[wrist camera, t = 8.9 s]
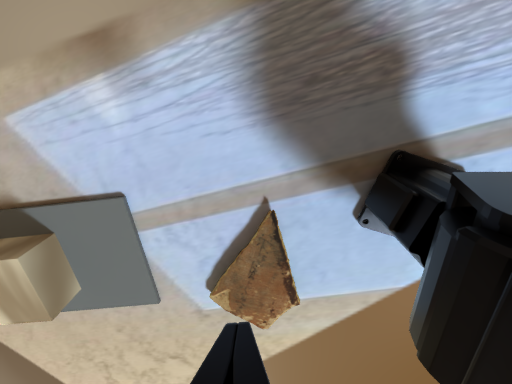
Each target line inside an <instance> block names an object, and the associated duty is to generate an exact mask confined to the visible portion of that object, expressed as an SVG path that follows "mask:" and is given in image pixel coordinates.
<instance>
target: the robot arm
mask: <svg viewBox="0 0 512 384" xmlns="http://www.w3.org/2000/svg"><path fill="white" fill-rule="evenodd" d="M399 155H402V157H401V159H399V160H397V158H398V156H399ZM364 219H367V221H366V222H363V220H364ZM358 223H359V224H360V225H361V226H362V227H364V228H368V229H371V230H374V231H378V232H381V233H384V234H387V235H391V236H394V237H395V238H396V239H397V240H398V241H399V242H400V243H401V244H402V245H403V246H404V247H405V248H406V249H407V250H408V251H409V252H410V253H411V255H412V256H413V257H414V258H415V259H416V260H417V261H418V262H419V263H420V264H421V265H422V266H423V267H424V271H423V275H422V278H421V282H420V285H419V288H418V292H417V295H416V299H415V302H414V306H413V309H412V312H411V316H410V329H409V331H410V333H411V336H412V339H413V341H414V344H415V346H416V349H417V350H418V351H417V357H418V359H419V360H420V362H421V363H422V364H423V366H424V367H425V368H426V369H427V371H428V372H429V373H430V374H431V375H432V376H433V377H434V378H435V379H436V380H437V381H438V382H439V383H440V384H512V172H463V171H460V170H457V169H454V168H451V167H448V166H446V165H443V164H440V163H437V162H434V161H431V160H428V159H425V158H422V157H420V156H417V155H414V154H411V153H408V152H405V151H402V150H397V151H395V152H394V153H393V154H392V156H391V157H390V159H389V161H388V163H387V165H386V167H385V169H384V170H383V172H382V174H380V175H379V176H378V178H377V180H376V182H375V184H374V186H373V188H372V190H371V191H370V193H369V195H368V197H367V199H366V201H365V206H364V208H363V210H362V212H361V213H360V215H359V217H358ZM190 384H270V382H269V379H268V376H267V373H266V370H265V367H264V365H263V361H262V358H261V355H260V352H259V349H258V346H257V343H256V340H255V337H254V334H253V331H252V328H251V325H250V323H249V322H239V323H227V324H226V325H225V327H224V328H223V330H222V332H221V333H220V335H219V337H218V338H217V340H216V342H215V343H214V345H213V347H212V348H211V350H210V352H209V353H208V355H207V357H206V358H205V360H204V362H203V363H202V365H201V366H200V368H199V370H198V371H197V373H196V375H195V376H194V378H193V380H192V381H191V383H190Z"/></svg>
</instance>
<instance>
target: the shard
mask: <svg viewBox="0 0 512 384" xmlns="http://www.w3.org/2000/svg"><path fill="white" fill-rule="evenodd" d="M209 297H210V298H211V299H212V300H213V301H214V302H215V303H217V304H218V305H219V306H221V307H222V308H223V309H224V310H226V311H228V312H230V313H232V314H234V315H235V316H239V317H240V318H242V319H244V320H246V321H248V322H251V323H253V324H254V325H256V326H257V327H259V328H262V329H268V328H269V327H270V326H271V325H272V324H273V323H274V322H275V321H276V320H277V319H278V318H279V316H281V315H282V314H283V313H285V312H286V311H287V310H289V309H290V308H291V307H293V306H297V305H299V304H300V299H299V297H298V295H297V291H296V287H295V282H294V280H293V277H292V274H291V269H290V265H289V259H288V257H287V252H286V249H285V245H284V243H283V239H282V235H281V232H280V229H279V226H278V220H277V217H276V213H275V211H274V210H272V211H271V210H270V211H269V212H268V214H267V216H266V217H265V219H264V221H263V222H262V223H261V225H260V227H259V229H258V230H257V233H256V234H255V235H254V237H253V238H252V240H251V241H250V243H249V244H248V245H247V247H246V248H244V249H243V250H242V251H241V252H240V253H239V255H238V256H237V257H236V259H235V261H234V262H233V263H232V264H231V265H230V266H229V268H228V269H227V271H226V272H225V273H224V274H223V275H222V277H221V278H220V279H219V281H218V283H217V285H216V286H215V288H214V290H213V291H212V292H211V293H210V296H209Z"/></svg>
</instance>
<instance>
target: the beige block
mask: <svg viewBox="0 0 512 384" xmlns="http://www.w3.org/2000/svg"><path fill="white" fill-rule="evenodd" d="M80 290H81V287H80V285H79V283H78V281H77V279H76V277H75V274H74V272H73V270H72V268H71V266H70V264H69V262H68V260H67V258H66V256H65V254H64V252H63V250H62V247H61V245H60V243H59V241H58V239H57V237H56V235H55V233H52V234H42V235H33V236H23V237H14V238H4V239H0V325H6V324H18V323H30V322H42V321H52V320H53V319H54V318H55V317H56V316H57V315H58V314H59V313H60V312H61V311H62V310H63V308H64V307H65V306H66V305H67V304H68V303H69V302H70V301H71V300H72V299H73V297H74V296H75V295H76V294H77V293H78V292H79V291H80Z"/></svg>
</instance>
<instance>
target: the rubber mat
mask: <svg viewBox="0 0 512 384" xmlns="http://www.w3.org/2000/svg"><path fill="white" fill-rule="evenodd" d="M52 233H55V235H56V237H57V239H58V241H59V243H60V245H61V247H62V250H63V252H64V254H65V256H66V258H67V260H68V262H69V264H70V266H71V268H72V270H73V272H74V274H75V277H76V279H77V281H78V283H79V285H80V287H81V290H80V291H79V292H78V293H77V294H76V295H75V296H74V297H73V299H72V300H71V301H70V302H69V303H68V304H67V305H66V306H65V307H64V308H63V310H62V311H61V312H66V311H78V310H89V309H101V308H113V307H125V306H136V305H148V304H159V303H160V301H161V300H160V297H159V294H158V291H157V288H156V285H155V282H154V279H153V276H152V274H151V271H150V268H149V265H148V262H147V259H146V256H145V253H144V250H143V247H142V244H141V241H140V238H139V235H138V232H137V230H136V227H135V224H134V221H133V218H132V215H131V212H130V209H129V206H128V203H127V200H126V197H125V196H120V197H111V198H102V199H93V200H84V201H76V202H67V203H58V204H49V205H40V206H31V207H22V208H13V209H4V210H0V239H4V238H14V237H23V236H33V235H42V234H52Z"/></svg>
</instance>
